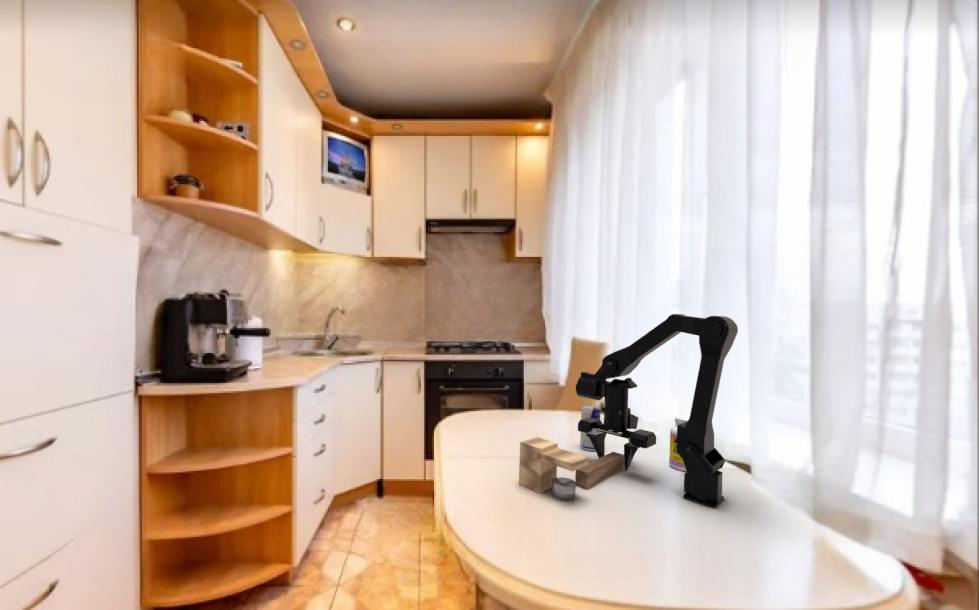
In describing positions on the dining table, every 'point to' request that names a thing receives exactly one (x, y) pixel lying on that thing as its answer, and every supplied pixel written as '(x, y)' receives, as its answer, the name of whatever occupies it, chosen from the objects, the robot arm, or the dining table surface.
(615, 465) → the batten
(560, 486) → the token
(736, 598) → the dining table surface
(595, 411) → the energy drink
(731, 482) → the dining table surface
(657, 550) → the dining table surface
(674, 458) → the supplement bottle
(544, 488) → the l-shaped wooden block
